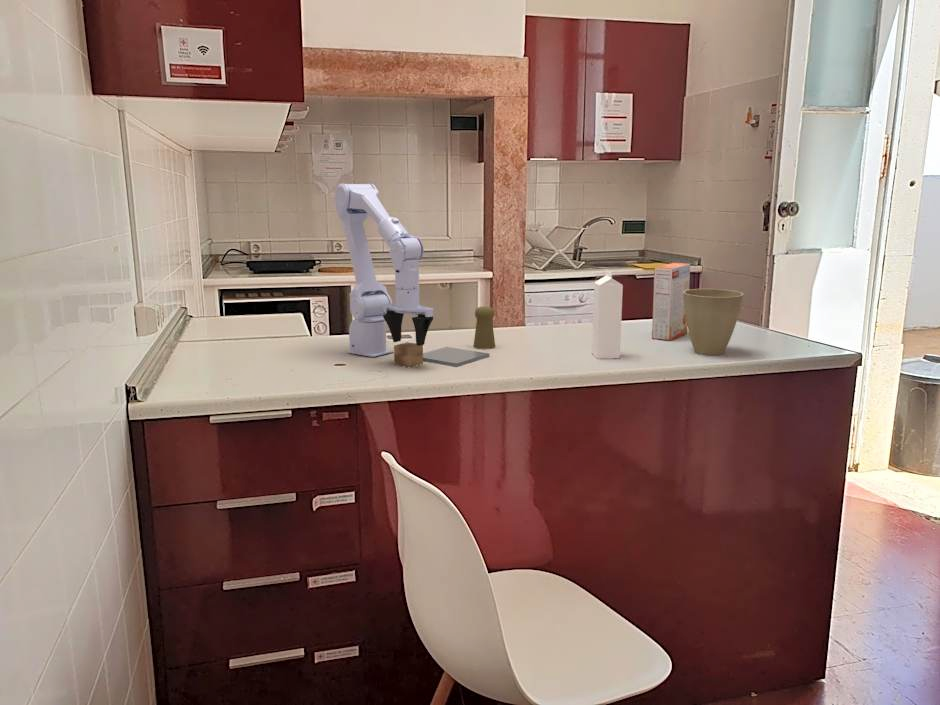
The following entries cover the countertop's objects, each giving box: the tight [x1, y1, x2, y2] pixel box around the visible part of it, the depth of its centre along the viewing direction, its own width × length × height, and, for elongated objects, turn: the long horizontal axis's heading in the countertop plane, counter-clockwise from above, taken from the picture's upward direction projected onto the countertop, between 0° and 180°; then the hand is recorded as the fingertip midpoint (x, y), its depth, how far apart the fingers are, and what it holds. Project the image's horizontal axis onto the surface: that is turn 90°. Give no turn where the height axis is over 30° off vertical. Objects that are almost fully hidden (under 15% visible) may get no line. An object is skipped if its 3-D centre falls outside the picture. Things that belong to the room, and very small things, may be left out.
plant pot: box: [683, 288, 744, 356], centre depth 197 cm, size 15×15×16 cm
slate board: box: [423, 346, 490, 368], centre depth 193 cm, size 14×14×1 cm
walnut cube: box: [393, 341, 424, 368], centre depth 186 cm, size 5×5×5 cm
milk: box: [591, 269, 624, 360], centre depth 192 cm, size 6×6×22 cm
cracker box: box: [651, 262, 691, 341], centre depth 218 cm, size 14×6×21 cm, turn 144°
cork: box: [473, 306, 496, 350], centre depth 205 cm, size 6×6×11 cm
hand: (408, 343), depth 185 cm, fingers open, 7 cm apart
